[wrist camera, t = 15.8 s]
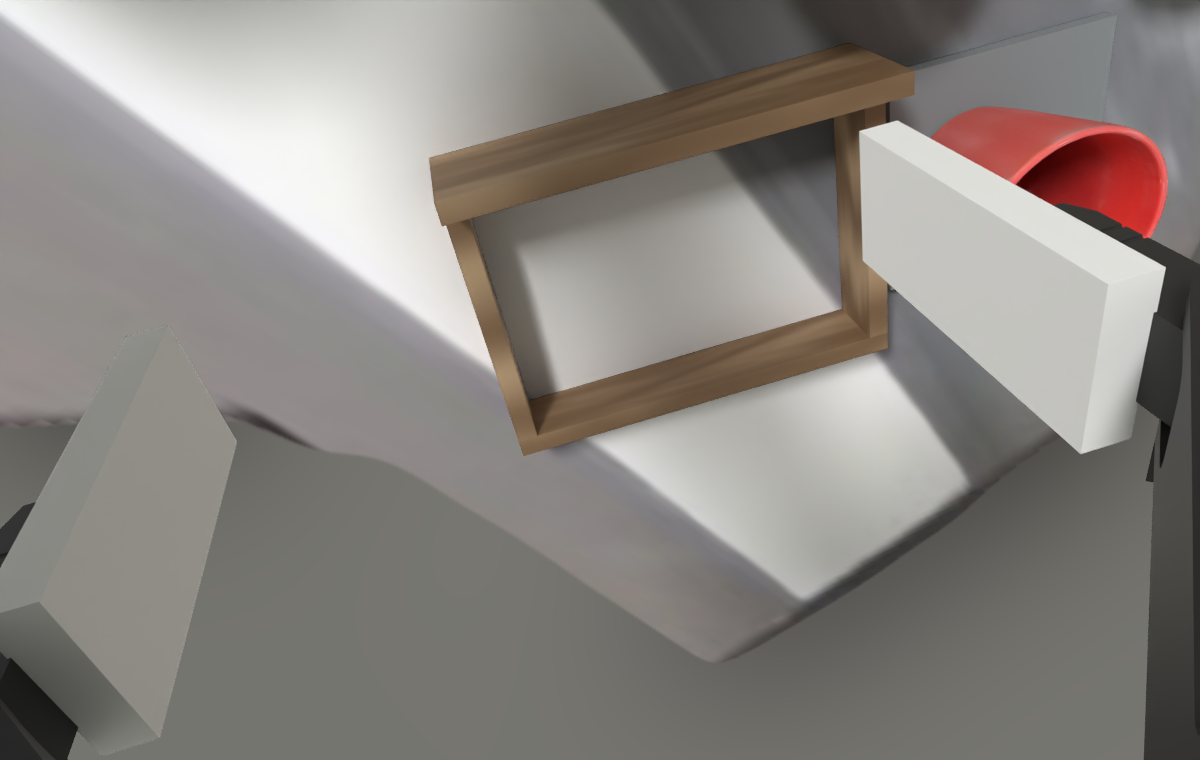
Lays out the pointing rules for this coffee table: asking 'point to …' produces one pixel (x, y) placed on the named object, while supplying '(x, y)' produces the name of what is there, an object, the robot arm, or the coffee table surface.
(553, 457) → the coffee table surface
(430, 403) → the coffee table surface
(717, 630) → the coffee table surface
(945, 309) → the robot arm
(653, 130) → the frame
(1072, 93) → the rubber mat
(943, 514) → the coffee table surface
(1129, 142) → the flower pot
